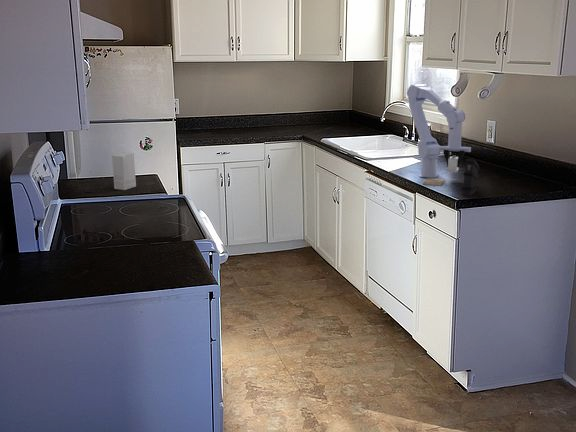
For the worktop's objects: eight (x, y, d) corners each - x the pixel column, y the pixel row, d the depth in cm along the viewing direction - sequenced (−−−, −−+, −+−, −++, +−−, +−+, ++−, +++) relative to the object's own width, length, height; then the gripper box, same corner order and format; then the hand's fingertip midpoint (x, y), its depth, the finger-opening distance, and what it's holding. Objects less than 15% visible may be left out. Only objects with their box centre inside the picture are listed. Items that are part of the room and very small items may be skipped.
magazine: (460, 193, 272) (465, 158, 274) (466, 200, 283) (472, 167, 286) (469, 193, 270) (474, 158, 272) (475, 201, 282) (481, 167, 284)
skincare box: (126, 185, 304) (123, 152, 300) (137, 186, 301) (134, 153, 297) (113, 189, 297) (110, 154, 293) (124, 190, 294) (122, 155, 290)
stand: (426, 181, 305) (426, 177, 304) (443, 182, 302) (443, 179, 301) (423, 184, 297) (423, 181, 297) (440, 185, 295) (441, 182, 294)
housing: (449, 169, 306) (450, 155, 305) (458, 169, 305) (459, 155, 303) (447, 171, 301) (448, 157, 299) (456, 172, 300) (457, 157, 298)
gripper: (437, 137, 298) (435, 167, 302) (470, 139, 293) (468, 169, 296) (439, 135, 304) (438, 164, 308) (472, 137, 299) (470, 166, 303)
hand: (453, 166), depth 303 cm, fingers closed on housing, 4 cm apart
